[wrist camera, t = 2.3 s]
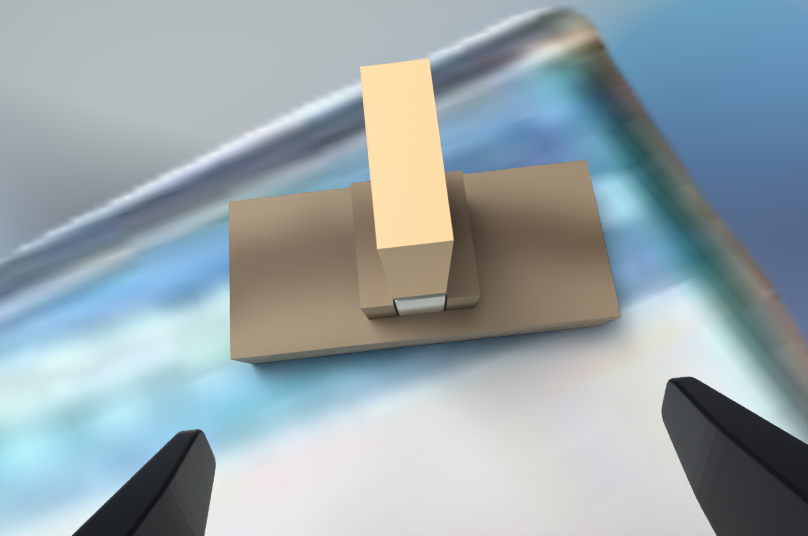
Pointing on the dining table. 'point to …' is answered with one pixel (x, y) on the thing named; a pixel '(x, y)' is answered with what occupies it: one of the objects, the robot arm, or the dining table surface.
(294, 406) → the dining table surface
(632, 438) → the dining table surface
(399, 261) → the stub
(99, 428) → the dining table surface
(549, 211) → the stand
